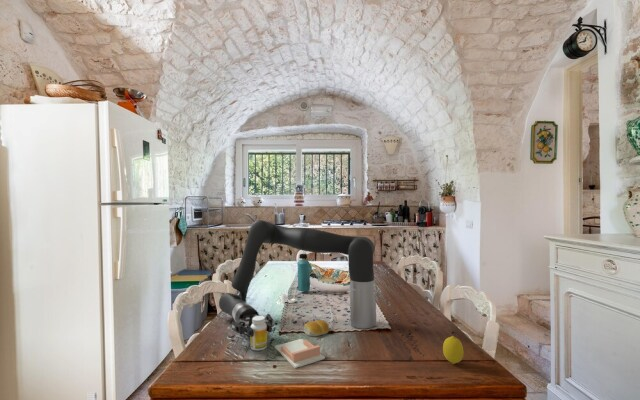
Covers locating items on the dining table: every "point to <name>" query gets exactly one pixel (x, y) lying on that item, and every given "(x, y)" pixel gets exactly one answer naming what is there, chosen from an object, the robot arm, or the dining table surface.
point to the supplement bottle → (259, 333)
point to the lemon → (453, 350)
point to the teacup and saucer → (285, 299)
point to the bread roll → (316, 328)
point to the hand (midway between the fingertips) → (261, 331)
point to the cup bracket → (300, 352)
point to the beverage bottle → (303, 274)
